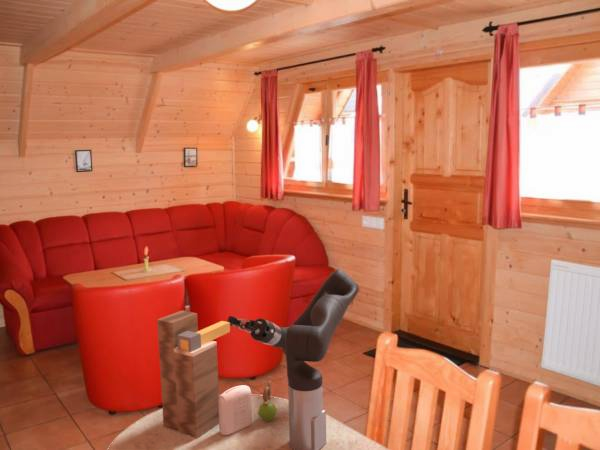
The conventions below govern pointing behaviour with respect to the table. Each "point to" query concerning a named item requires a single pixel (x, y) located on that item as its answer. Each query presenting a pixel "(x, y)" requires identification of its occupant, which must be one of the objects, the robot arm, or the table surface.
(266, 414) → the green bud vase
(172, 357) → the step stand
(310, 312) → the robot arm
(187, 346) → the bar
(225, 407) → the pink rounded block
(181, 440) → the table surface
